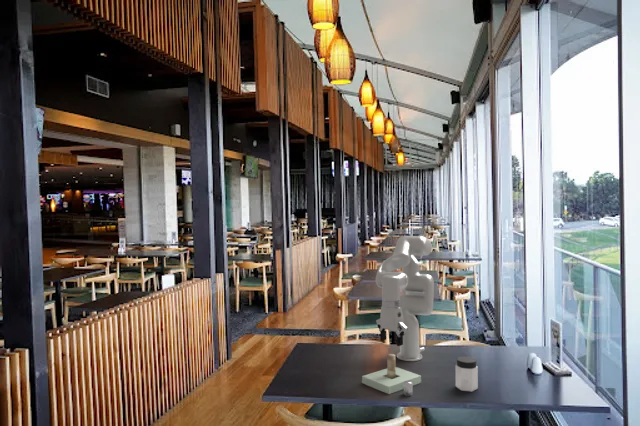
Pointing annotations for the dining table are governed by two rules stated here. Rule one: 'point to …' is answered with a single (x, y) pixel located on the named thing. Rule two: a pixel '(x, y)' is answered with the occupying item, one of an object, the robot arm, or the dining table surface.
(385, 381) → the hole board
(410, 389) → the steel pin
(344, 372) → the dining table surface
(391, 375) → the birch pin
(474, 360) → the jar
